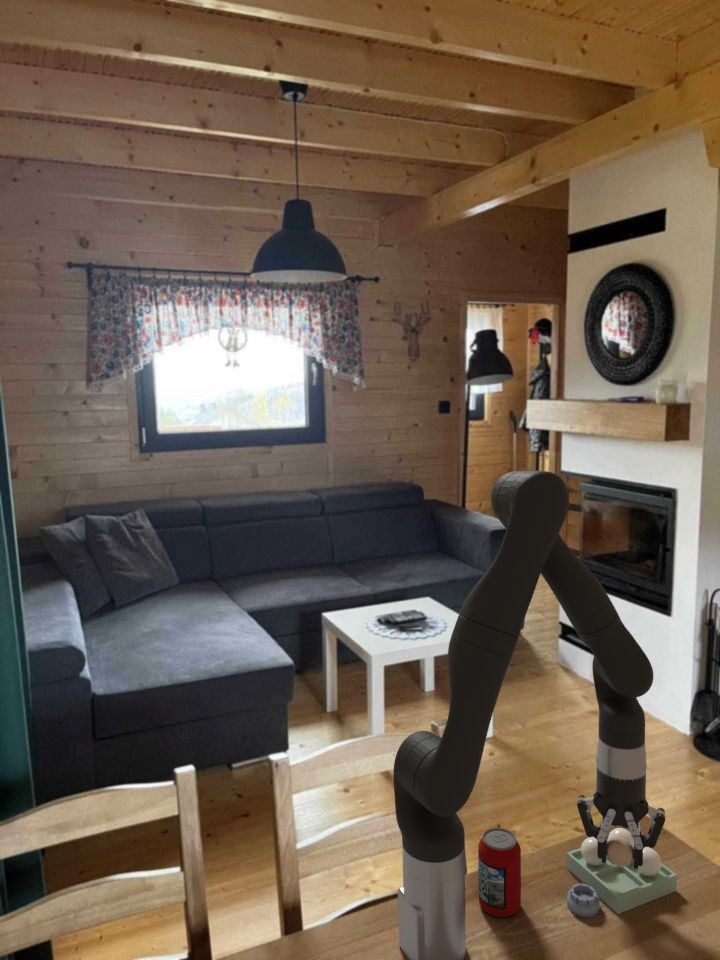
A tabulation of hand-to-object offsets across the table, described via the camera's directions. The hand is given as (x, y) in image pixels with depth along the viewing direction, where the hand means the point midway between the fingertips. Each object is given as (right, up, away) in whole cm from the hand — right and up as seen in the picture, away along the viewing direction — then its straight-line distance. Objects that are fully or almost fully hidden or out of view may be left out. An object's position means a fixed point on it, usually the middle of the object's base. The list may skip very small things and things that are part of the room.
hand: (619, 862), depth 121 cm
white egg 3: (+6, -3, +3) cm, 7 cm away
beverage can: (-20, -7, -1) cm, 21 cm away
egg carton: (+2, -5, +4) cm, 7 cm away
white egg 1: (-2, -3, +6) cm, 7 cm away
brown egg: (0, 0, 0) cm, 0 cm away
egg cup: (-6, -6, -2) cm, 9 cm away
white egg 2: (+3, -3, +8) cm, 9 cm away
